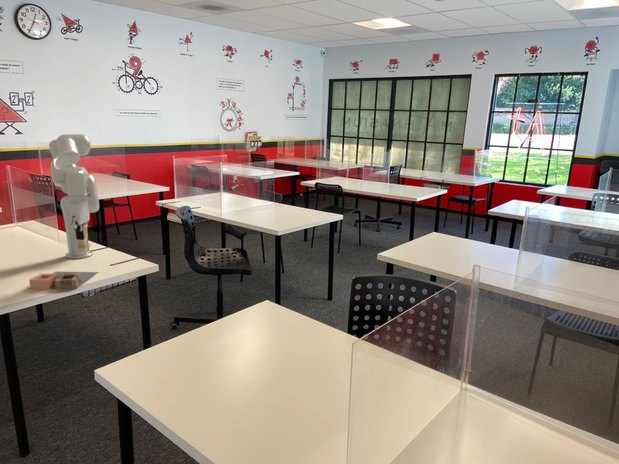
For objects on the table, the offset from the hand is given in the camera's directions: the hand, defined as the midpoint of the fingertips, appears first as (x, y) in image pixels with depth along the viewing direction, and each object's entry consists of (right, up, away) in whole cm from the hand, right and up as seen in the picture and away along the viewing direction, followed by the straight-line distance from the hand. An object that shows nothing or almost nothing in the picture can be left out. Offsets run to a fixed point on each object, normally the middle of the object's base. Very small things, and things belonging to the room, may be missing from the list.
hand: (82, 237), depth 201 cm
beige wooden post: (0, -6, +2) cm, 6 cm away
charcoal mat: (-6, -19, -3) cm, 20 cm away
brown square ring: (-1, -20, -10) cm, 23 cm away
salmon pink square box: (-11, -20, -10) cm, 25 cm away
